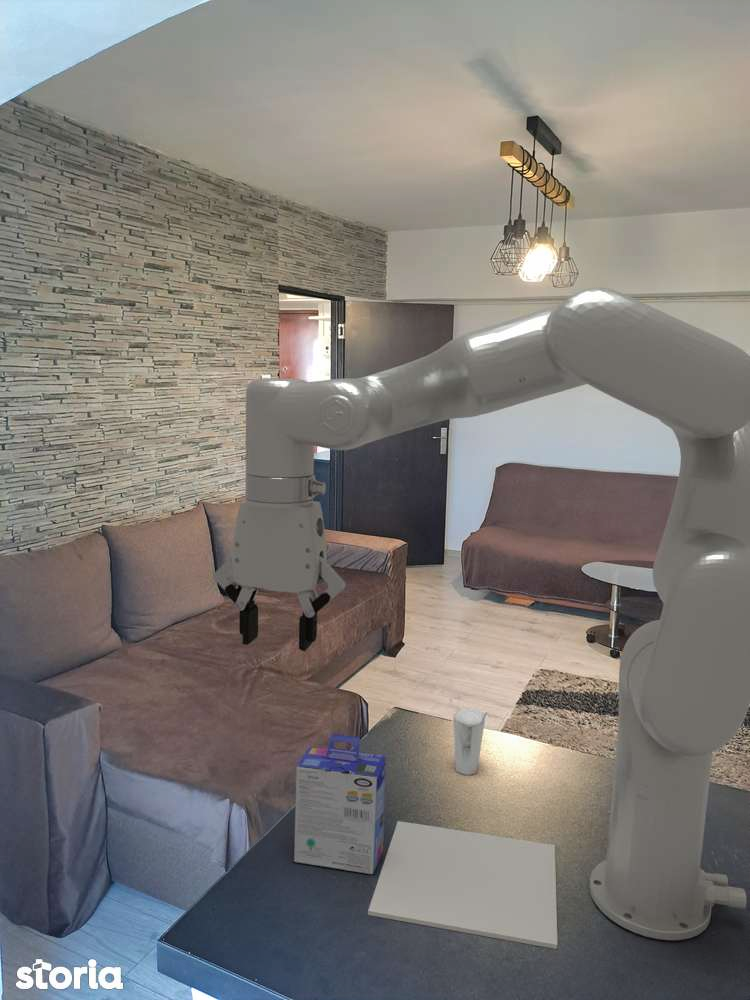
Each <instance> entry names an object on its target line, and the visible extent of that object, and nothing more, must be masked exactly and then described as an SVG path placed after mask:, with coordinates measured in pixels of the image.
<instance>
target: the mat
mask: <svg viewBox="0 0 750 1000" xmlns="http://www.w3.org/2000/svg"><path fill="white" fill-rule="evenodd" d="M556 876H557V875H556V844H550V843H543V842H538V841H537V842H536V841H530V840H524V839H519V838H518V839H517V838H512V837H506V836H497V835H492V834H491V835H490V834H486V833H478V832H471V831H465V830H458V829H452V828H447V827H440V826H439V827H438V826H434V825H433V826H432V825H426V824H420V823H414V822H406V821H401V820H397V822H396V825H395V828H394V831H393V835H392V837H391V841H390V844H389V847H388V849H387V853H386V856H385V859H384V861H383V864H382V868H381V871H380V874H379V877H378V880H377V883H376V886H375V889H374V892H373V895H372V898H371V901H370V903H369V906H368V911H367V916H370V917H371V916H372V917H375V918H376V917H378V918H383V919H387V920H393V921H398V922H399V921H400V922H405V923H411V924H416V925H422V926H427V927H433V928H437V929H443V930H447V931H455V932H460V933H465V934H470V935H476V936H482V937H487V938H492V939H493V938H494V939H497V940H505V941H509V942H510V941H511V942H515V943H519V944H525V945H532V946H536V947H537V946H538V947H542V948H548V949H553V950H558V921H557V920H558V919H557V914H558V913H557V912H558V911H557V881H556V880H557V879H556Z"/></svg>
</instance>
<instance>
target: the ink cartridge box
mask: <svg viewBox="0 0 750 1000" xmlns="http://www.w3.org/2000/svg"><path fill="white" fill-rule="evenodd" d="M360 740H361V738H360V736H352V735H343V734H338V733H331V734H330V739H329V743H328V747H327V748H321V747H320V748H319V747H312V746H309V747H308V749H307V750H306V751H305V753H304V754H303V756H302V758H301V760H299V762H298V763H297V765H296V766H295V802H294V803H295V807H294V808H295V809H294V811H295V812H294V847H293V849H294V850H293V851H294V852H293V855H294V856H293V862H295V863H300V864H305V865H311V866H318V867H319V866H320V867H324V868H331V869H337V870H344V871H349V872H356V873H361V874H367V875H373V874H374V873H375V871H376V869H377V867H378V863H379V861H380V859H381V857H382V854H383V851H384V830H385V829H384V827H385V826H384V825H385V824H384V822H385V801H386V800H385V798H386V797H385V796H386V795H385V794H386V770H387V769H386V768H387V767H386V765H387V764H386V762H387V761H386V758H387V757H386V755H384V754H374V753H366V752H365V753H364V752H360V751H359V750H360ZM340 742H345V743H348V744H350V745H351V746H352V745H353V749H347V748H339V747H335V746H334V745H335V743H340Z"/></svg>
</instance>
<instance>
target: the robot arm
mask: <svg viewBox="0 0 750 1000" xmlns="http://www.w3.org/2000/svg"><path fill="white" fill-rule="evenodd" d="M585 385H589V387H590V386H591V387H592V388H594V389H596V390H598V391H600V392H601V393H604V394H605V395H607V396H610V398H611V397H612V398H614V399H615V400H617V401H620V402H622V403H624V404H626V405H628V406H630V407H632V408H634V409H636V410H639V412H640V411H641V412H643V413H645V414H647V415H649V416H651V417H653V418H655V419H657V420H659V421H660V422H661V423H663V424H664V425H665V426H666V427H668V428H670V429H671V430H672V432H673V433H674V435H675V438H676V440H677V442H678V446H679V452H680V463H679V464H680V466H679V472H678V478H677V483H676V487H675V492H674V496H673V501H672V504H671V508H670V511H669V514H668V517H667V522H666V524H665V528H664V532H663V535H662V537H661V541H660V542H659V543H660V544H659V547H658V550H657V553H656V556H655V559H654V562H653V568H652V582H653V586H654V587H655V590H656V592H657V595H658V597H659V599H660V600H661V601H662V603H663V605H662V610H661V614H660V617H659V619H656V620H651V621H649V622H646V623H645V624H643V625H641V626H640V627H638V628H637V629H636V630H635V631H634V632H632V634H631V635H630V636H629V637H628V638H627V640H626V642H625V644H624V646H623V649H622V651H621V655H620V661H619V667H618V668H619V672H618V674H619V675H618V717H617V719H618V720H617V735H616V736H617V738H616V747H615V748H616V749H615V759H614V769H613V780H612V791H611V792H612V793H611V803H610V814H609V815H610V816H609V825H608V838H607V848H606V849H607V850H606V859H605V860H602V861H601V862H600V863H598V864H596V866H595V867H594V868H593V869H592V871H591V873H590V877H589V892H590V896H591V899H592V901H593V902H594V903H595V905H596V906H597V907H598V909H599V910H600V911H601V913H603V914H604V915H605V916H606V917H608V918H609V920H611V921H613V922H614V923H615V924H616V925H618V926H620V927H622V928H623V929H626V930H628V931H630V932H632V933H634V934H638V935H641V936H643V937H646V938H650V939H655V940H663V941H683V940H688V939H691V938H694V937H696V936H698V935H701V934H702V933H703V932H704V931H706V929H707V928H708V926H709V924H710V921H711V918H712V917H711V915H712V914H711V913H712V907H713V908H714V906H715V904H718V905H722V906H726V907H732V908H737V909H744V910H745V909H746V908H747V903H748V902H747V894H746V893H747V892H746V890H745V888H740V887H734V886H729V879H728V876H727V875H726V874H721V873H712V872H711V873H710V872H705V870H704V869H702V868H701V862H702V861H701V860H702V851H703V843H704V842H703V841H704V833H705V832H704V831H705V824H706V816H707V814H706V813H707V805H708V798H709V797H708V796H709V789H710V788H709V787H710V786H709V785H710V782H711V781H710V780H711V771H712V764H713V763H712V762H713V761H712V760H713V753H714V752H716V751H718V750H720V749H721V748H723V747H725V746H726V745H727V744H728V743H729V742H730V741H731V740H733V738H734V737H735V736H736V734H737V733H738V731H740V728H741V726H742V725H743V724H744V721H745V718H746V716H747V714H748V711H749V708H750V355H749V354H748V353H747V352H746V351H745V350H743V349H742V348H740V347H738V346H737V345H735V344H733V343H732V342H730V341H727V340H725V339H723V338H721V337H719V336H716V335H715V334H712V333H710V332H708V331H706V330H703V329H700V328H699V327H696V326H695V325H692V324H690V323H687V322H686V321H683V320H681V319H678V318H677V317H674V316H672V315H670V314H668V313H666V312H663V311H661V310H659V309H656V308H655V307H653V306H650V305H648V304H646V303H644V302H642V301H640V300H638V299H636V298H634V297H631V296H629V295H628V294H625V293H622V292H620V291H618V290H614V289H612V288H611V289H610V288H604V287H590V288H586V289H582V290H580V291H578V292H577V291H576V292H575V293H573V294H572V295H570V296H569V297H568V298H567V299H565V300H563V302H561V303H558V304H555V305H552V306H549V307H546V308H543V309H539V310H536V311H534V312H532V313H528V314H525V315H522V316H519V317H516V318H513V319H509V320H507V321H503V322H500V323H496V324H493V325H490V326H486V327H484V328H479V329H476V330H474V331H470V332H467V333H463V334H462V335H460V336H458V337H455V338H453V339H452V340H450V341H448V342H447V343H445V344H444V345H442V346H441V347H440V348H438V349H437V350H435V351H432V352H431V353H429V354H427V355H425V356H423V357H420V358H417V359H415V360H412V361H410V362H407V363H406V362H405V363H404V364H401V365H397V366H395V367H391V368H389V369H386V370H382V371H378V372H376V373H373V374H369V375H366V376H362V377H358V378H354V377H353V378H352V377H350V378H349V377H347V378H333V379H325V380H316V381H315V380H314V381H307V380H304V379H299V378H298V379H297V378H279V377H278V378H276V377H264V378H263V377H262V378H261V377H260V378H255V379H252V380H251V381H250V382H249V384H248V385H247V388H246V391H245V498H244V499H242V500H240V502H239V505H238V510H237V515H236V521H235V527H234V534H233V535H234V536H233V544H232V555H231V557H229V559H228V560H226V561H225V563H223V564H222V565H221V566H220V567H219V568H218V569H217V570H216V571H214V573H213V575H212V577H213V578H212V579H214V580H215V582H216V583H217V584H218V585H219V586H220V587H221V588H222V589H223V590H224V592H225V594H226V595H227V596H228V598H229V599H230V600H231V602H233V603H234V605H235V609H236V610H237V611H239V623H238V624H239V625H238V626H239V627H238V628H239V630H238V631H239V634H240V635H241V636H242V642H241V643H242V645H246V646H248V645H250V644H251V643H252V642H253V641H255V640H256V639H257V638H258V636H259V606H258V604H257V603H255V598H256V596H257V594H258V592H259V590H261V591H262V590H263V591H270V592H271V591H274V592H283V593H294V594H295V593H296V596H297V598H298V601H299V604H300V606H301V609H302V615H301V616H300V617H299V619H298V620H299V621H298V650H300V651H301V652H306V651H307V650H308V649H309V648H310V646H311V645H313V643H314V642H316V640H317V635H318V634H317V633H318V612H319V611H320V610H321V609H323V608H324V607H325V606H326V605H328V604H329V603H330V602H331V601H332V600H333V599H334V598H335V597H336V596H337V595H338V594H340V593H341V592H342V591H343V590H344V589H345V588H346V582H345V581H344V580H343V577H341V576H340V575H339V574H338V573H337V572H336V570H335V569H334V568H333V567H332V566H331V565H330V564H329V562H327V549H326V548H327V547H326V532H325V522H324V516H323V510H322V505H321V502H320V501H315V500H314V498H316V496H318V495H325V493H326V488H327V487H326V486H327V485H326V483H325V482H323V481H322V482H321V481H319V480H317V479H316V475H315V474H314V473H315V472H314V471H315V470H314V468H315V457H314V456H315V447H319V448H324V449H327V450H328V449H329V450H334V451H335V450H336V451H348V450H349V451H350V450H353V449H356V448H359V447H361V446H364V445H365V444H370V443H372V442H375V441H379V440H383V439H385V438H387V437H391V436H394V435H397V434H401V433H404V432H407V431H411V430H415V429H418V428H421V427H425V426H428V425H432V424H436V423H439V422H443V421H448V420H453V419H462V418H463V419H464V418H465V419H467V418H473V417H474V418H475V417H479V416H481V415H482V416H483V415H487V414H490V413H493V412H496V411H500V410H503V409H506V408H511V407H513V406H516V405H520V404H523V403H527V402H530V401H533V400H537V399H541V398H544V397H548V396H550V395H554V394H557V393H560V392H564V391H567V390H568V391H569V390H572V389H574V388H575V389H576V388H577V387H583V386H585ZM323 582H325V583H326V584H327V588H326V589H325V590H324V591H323V592H322V593H321V594H320V595H318V593H317V590H316V588H317V585H319V584H321V583H323Z"/></svg>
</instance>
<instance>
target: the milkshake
mask: <svg viewBox="0 0 750 1000" xmlns="http://www.w3.org/2000/svg"><path fill="white" fill-rule="evenodd" d="M487 714H488V711H486V712H485V713H484V714H483V713H482V712H481V711H480V710H478V709H475V708H472V707H463V708H459V709H458V710H456V712H455V713H454V714H453V719H452V720H453V735H454V737H453V739H454V740H453V741H454V742H453V743H454V768H455V770H456V772H457V773H458V774H461V775H464V776H465V775H466V776H471V775H475V774H476V773H477V772H478V770H479V764H480V757H481V756H480V755H481V751H482V750H481V748H482V740H483V735H484V728H485V722H486V716H487Z"/></svg>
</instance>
